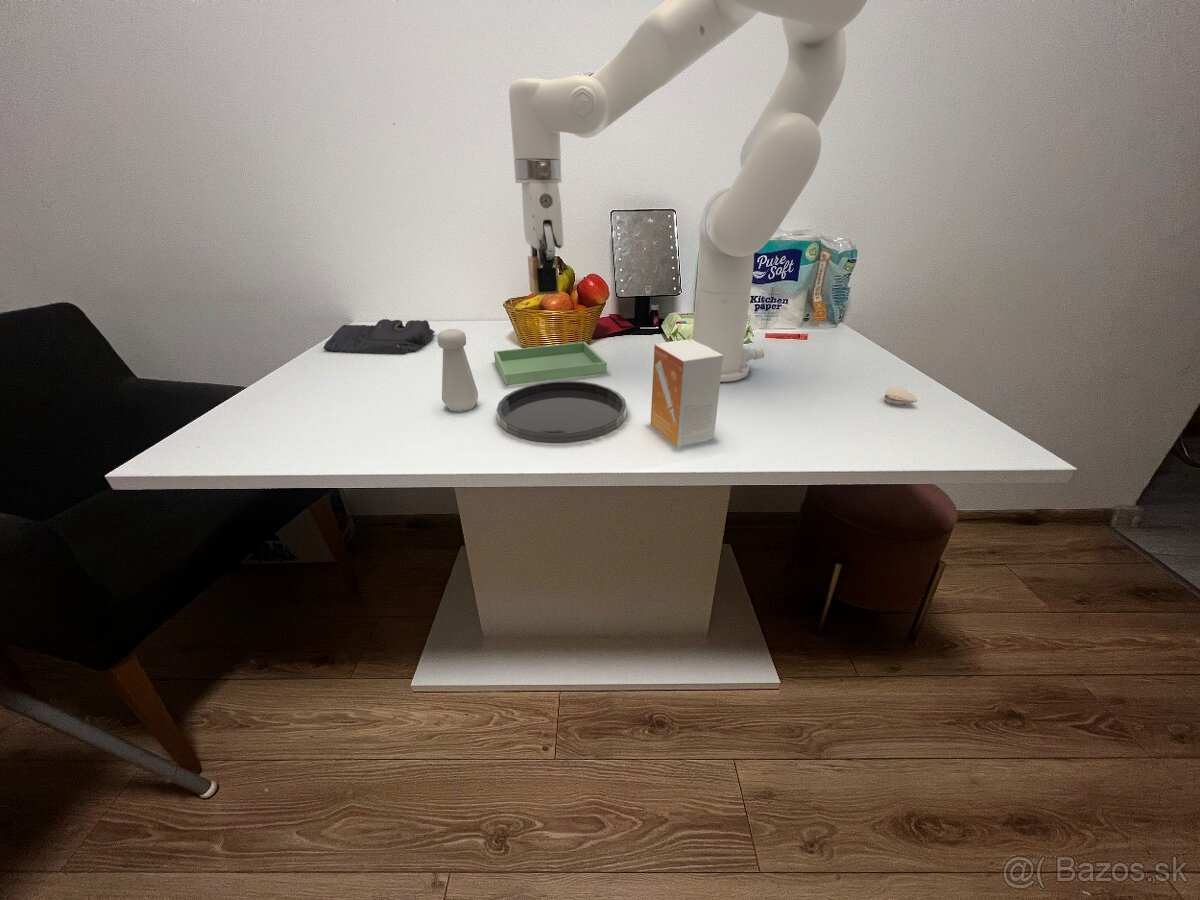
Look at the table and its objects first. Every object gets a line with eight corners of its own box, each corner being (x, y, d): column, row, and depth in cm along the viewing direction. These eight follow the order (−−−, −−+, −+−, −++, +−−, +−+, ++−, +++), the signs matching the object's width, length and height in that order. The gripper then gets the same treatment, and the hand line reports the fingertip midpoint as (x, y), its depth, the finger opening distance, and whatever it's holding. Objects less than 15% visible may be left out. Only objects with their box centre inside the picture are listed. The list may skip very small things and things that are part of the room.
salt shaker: (470, 417, 81) (459, 337, 75) (437, 414, 82) (423, 335, 76) (485, 403, 86) (475, 326, 80) (453, 400, 87) (442, 325, 81)
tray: (585, 353, 109) (584, 341, 108) (606, 375, 97) (606, 362, 96) (495, 363, 104) (493, 351, 103) (506, 387, 92) (504, 374, 91)
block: (553, 289, 94) (551, 254, 91) (558, 293, 91) (557, 258, 88) (530, 291, 93) (527, 256, 90) (534, 295, 90) (532, 259, 87)
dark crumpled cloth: (354, 332, 124) (349, 313, 122) (441, 334, 122) (438, 314, 120) (317, 352, 111) (311, 330, 109) (414, 354, 109) (409, 332, 107)
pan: (602, 385, 93) (602, 375, 92) (645, 433, 76) (645, 421, 75) (490, 400, 87) (489, 389, 86) (510, 455, 70) (508, 442, 69)
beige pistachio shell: (888, 396, 87) (892, 382, 86) (920, 404, 84) (924, 390, 83) (878, 403, 85) (882, 389, 83) (911, 412, 82) (916, 397, 80)
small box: (649, 426, 78) (653, 343, 71) (685, 419, 80) (692, 337, 74) (676, 450, 71) (683, 360, 65) (714, 441, 73) (725, 354, 67)
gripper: (574, 173, 77) (577, 297, 86) (548, 172, 91) (553, 279, 100) (525, 173, 75) (533, 300, 84) (506, 172, 89) (515, 281, 97)
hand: (544, 287), depth 91 cm, fingers closed on block, 4 cm apart
